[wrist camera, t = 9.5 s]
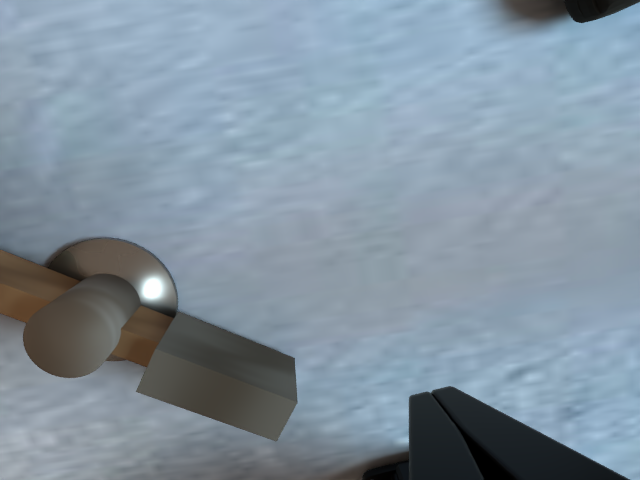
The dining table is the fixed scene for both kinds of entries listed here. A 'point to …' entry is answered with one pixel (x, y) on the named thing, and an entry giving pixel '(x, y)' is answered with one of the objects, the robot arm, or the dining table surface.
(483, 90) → the dining table surface
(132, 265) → the pivot disc
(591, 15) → the tape measure
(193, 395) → the flipper
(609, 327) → the dining table surface
